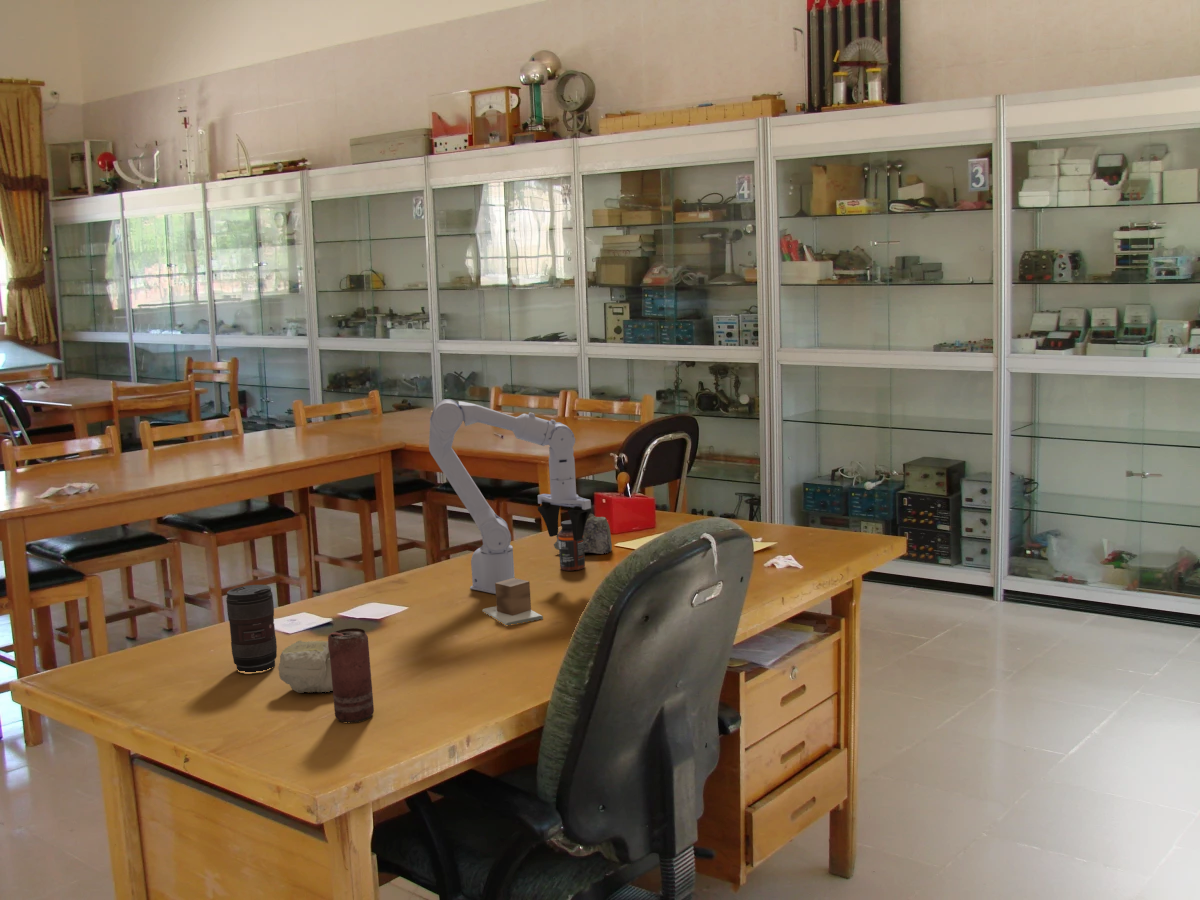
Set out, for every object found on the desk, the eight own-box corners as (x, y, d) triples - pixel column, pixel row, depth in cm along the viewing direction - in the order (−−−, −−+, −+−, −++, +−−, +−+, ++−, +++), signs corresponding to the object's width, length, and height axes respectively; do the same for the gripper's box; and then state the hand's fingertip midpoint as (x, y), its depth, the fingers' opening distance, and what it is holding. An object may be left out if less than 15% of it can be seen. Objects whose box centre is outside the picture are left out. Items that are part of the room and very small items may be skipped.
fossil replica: (355, 695, 196) (347, 681, 205) (354, 646, 195) (346, 635, 205) (281, 701, 192) (277, 687, 201) (280, 651, 191) (276, 640, 201)
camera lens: (288, 662, 214) (280, 584, 211) (262, 677, 206) (254, 596, 204) (251, 659, 216) (243, 582, 214) (224, 674, 209) (216, 594, 207)
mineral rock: (552, 554, 287) (549, 515, 286) (578, 545, 296) (576, 506, 294) (593, 560, 279) (591, 519, 278) (619, 550, 288) (617, 511, 286)
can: (336, 711, 188) (329, 628, 186) (375, 708, 188) (369, 625, 186) (331, 725, 182) (323, 640, 180) (371, 722, 182) (364, 637, 180)
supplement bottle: (586, 564, 275) (584, 518, 273) (583, 571, 269) (581, 524, 267) (561, 565, 275) (559, 519, 274) (558, 571, 270) (555, 524, 268)
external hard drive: (506, 630, 229) (482, 615, 240) (543, 622, 233) (518, 608, 244) (505, 622, 229) (482, 608, 240) (543, 615, 233) (518, 601, 244)
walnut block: (496, 611, 237) (495, 583, 236) (515, 605, 241) (513, 577, 240) (512, 615, 234) (510, 586, 233) (531, 609, 237) (529, 581, 236)
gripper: (598, 477, 254) (601, 537, 256) (551, 472, 264) (554, 530, 266) (577, 482, 249) (580, 544, 251) (529, 477, 259) (533, 536, 261)
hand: (565, 537), depth 258 cm, fingers open, 7 cm apart
